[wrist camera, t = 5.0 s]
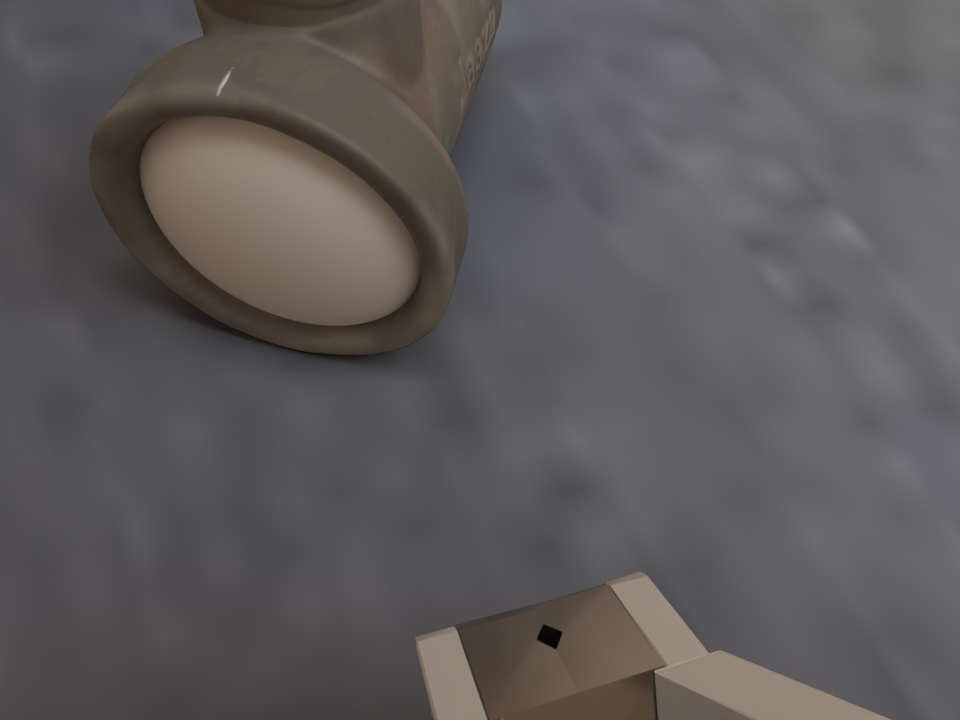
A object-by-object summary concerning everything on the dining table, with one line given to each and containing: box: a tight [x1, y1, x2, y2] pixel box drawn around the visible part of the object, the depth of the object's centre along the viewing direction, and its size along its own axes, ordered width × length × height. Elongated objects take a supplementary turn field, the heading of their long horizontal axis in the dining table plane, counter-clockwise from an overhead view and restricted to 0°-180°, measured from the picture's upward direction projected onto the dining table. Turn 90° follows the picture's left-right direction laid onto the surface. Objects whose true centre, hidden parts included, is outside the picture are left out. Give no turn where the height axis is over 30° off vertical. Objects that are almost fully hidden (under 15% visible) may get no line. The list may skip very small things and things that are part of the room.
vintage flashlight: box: [89, 0, 502, 355], centre depth 18 cm, size 12×8×10 cm
